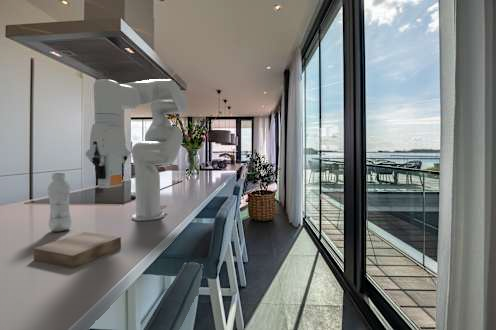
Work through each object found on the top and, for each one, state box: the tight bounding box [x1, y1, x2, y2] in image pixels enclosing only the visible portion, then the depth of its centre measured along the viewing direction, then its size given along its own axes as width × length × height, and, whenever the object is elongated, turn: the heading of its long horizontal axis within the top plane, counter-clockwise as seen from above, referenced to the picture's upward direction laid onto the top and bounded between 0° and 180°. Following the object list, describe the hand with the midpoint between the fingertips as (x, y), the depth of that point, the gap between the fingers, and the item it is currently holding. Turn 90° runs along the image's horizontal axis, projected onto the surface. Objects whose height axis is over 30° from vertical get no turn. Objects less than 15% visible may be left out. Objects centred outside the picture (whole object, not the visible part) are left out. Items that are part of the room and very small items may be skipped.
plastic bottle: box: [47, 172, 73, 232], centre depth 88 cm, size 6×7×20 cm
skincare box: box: [97, 149, 123, 189], centre depth 81 cm, size 6×4×12 cm
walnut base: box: [33, 231, 122, 269], centre depth 69 cm, size 14×14×3 cm
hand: (110, 177), depth 81 cm, fingers closed on skincare box, 6 cm apart
